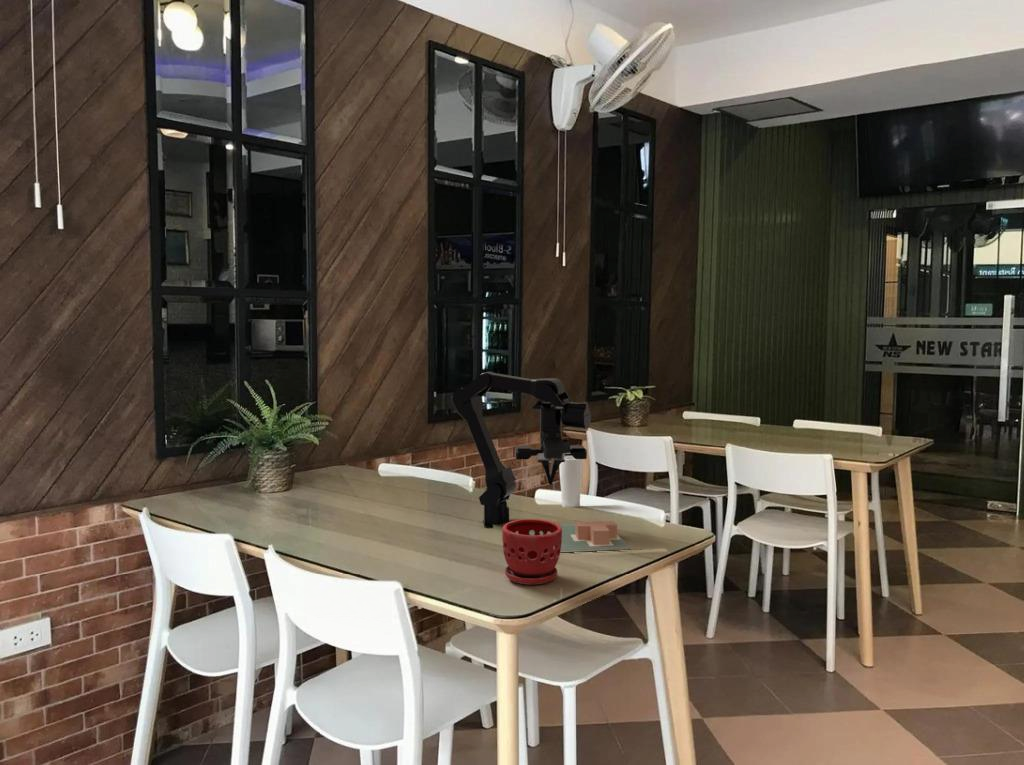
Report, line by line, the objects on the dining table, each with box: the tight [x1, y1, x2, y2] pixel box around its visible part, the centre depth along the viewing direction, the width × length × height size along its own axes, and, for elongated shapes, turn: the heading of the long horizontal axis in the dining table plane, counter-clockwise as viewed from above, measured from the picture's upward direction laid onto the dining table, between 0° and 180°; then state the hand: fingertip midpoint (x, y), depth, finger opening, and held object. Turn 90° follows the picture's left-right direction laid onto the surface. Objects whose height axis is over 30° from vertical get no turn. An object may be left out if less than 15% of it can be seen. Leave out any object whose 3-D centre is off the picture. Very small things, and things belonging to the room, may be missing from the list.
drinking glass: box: [558, 456, 583, 508], centre depth 251 cm, size 7×7×15 cm
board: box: [529, 523, 631, 554], centre depth 218 cm, size 23×24×1 cm
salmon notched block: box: [574, 520, 618, 545], centre depth 215 cm, size 10×9×4 cm
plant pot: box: [501, 518, 562, 586], centre depth 187 cm, size 13×13×12 cm
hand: (550, 484), depth 226 cm, fingers closed
